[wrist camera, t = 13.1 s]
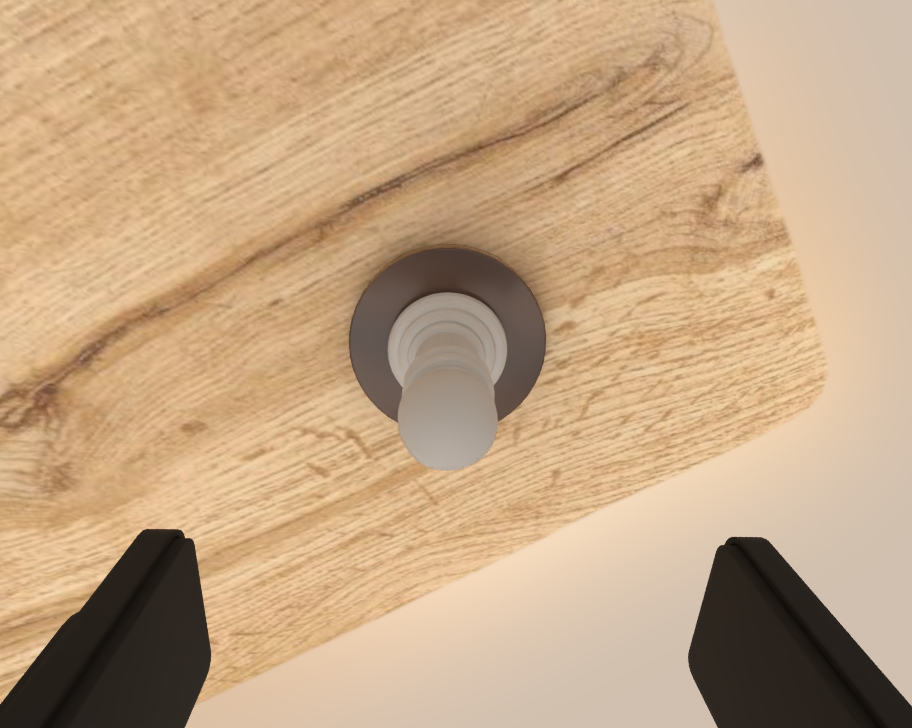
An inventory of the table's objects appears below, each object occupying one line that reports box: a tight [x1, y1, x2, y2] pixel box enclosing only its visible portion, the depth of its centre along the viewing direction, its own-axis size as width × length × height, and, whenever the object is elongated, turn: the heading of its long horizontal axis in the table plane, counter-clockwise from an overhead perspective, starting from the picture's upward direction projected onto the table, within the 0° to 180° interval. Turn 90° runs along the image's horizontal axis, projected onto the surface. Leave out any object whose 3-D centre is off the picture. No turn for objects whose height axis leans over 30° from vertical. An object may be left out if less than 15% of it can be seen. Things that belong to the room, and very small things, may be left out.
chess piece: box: [388, 292, 507, 471], centre depth 21 cm, size 5×5×9 cm
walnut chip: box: [349, 244, 546, 422], centre depth 25 cm, size 9×9×1 cm
